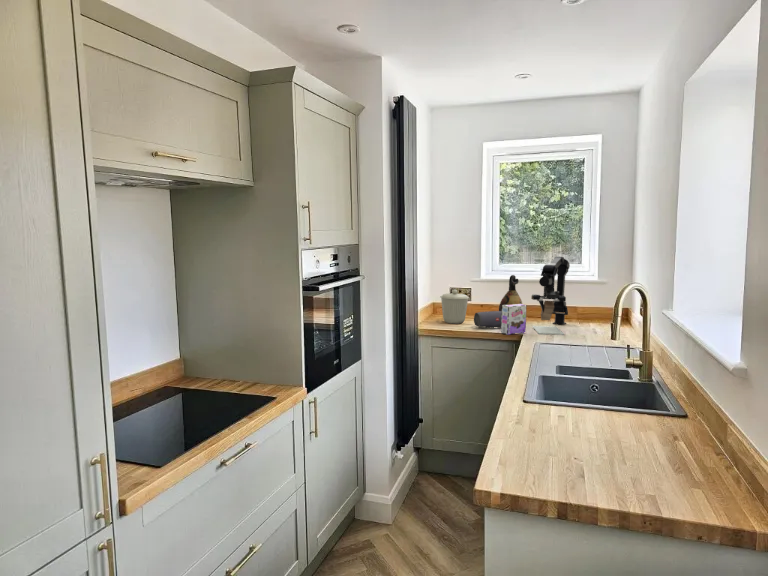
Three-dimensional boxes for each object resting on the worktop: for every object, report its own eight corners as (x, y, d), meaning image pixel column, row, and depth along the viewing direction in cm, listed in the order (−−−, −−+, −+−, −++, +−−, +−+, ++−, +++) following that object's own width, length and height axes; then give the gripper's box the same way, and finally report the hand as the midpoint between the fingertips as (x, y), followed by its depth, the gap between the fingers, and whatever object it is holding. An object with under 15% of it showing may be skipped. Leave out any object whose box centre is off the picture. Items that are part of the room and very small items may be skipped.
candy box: (507, 335, 297) (508, 306, 295) (500, 333, 302) (501, 304, 301) (525, 333, 304) (527, 304, 302) (518, 331, 309) (520, 303, 307)
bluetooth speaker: (479, 329, 312) (480, 313, 311) (473, 326, 321) (473, 310, 320) (514, 328, 319) (514, 311, 318) (506, 325, 328) (506, 309, 326)
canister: (472, 321, 338) (473, 289, 336) (461, 326, 323) (462, 292, 321) (447, 319, 348) (448, 287, 346) (434, 322, 333) (435, 289, 331)
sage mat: (532, 327, 322) (532, 325, 322) (555, 327, 321) (555, 326, 321) (538, 334, 300) (538, 332, 300) (564, 334, 299) (564, 333, 299)
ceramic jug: (525, 323, 335) (527, 276, 331) (501, 323, 335) (502, 276, 331) (519, 318, 352) (520, 274, 348) (495, 318, 352) (497, 273, 348)
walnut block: (540, 314, 319) (544, 300, 309) (549, 314, 318) (553, 300, 308) (541, 320, 316) (545, 306, 306) (549, 320, 315) (554, 306, 305)
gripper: (535, 286, 303) (534, 313, 304) (568, 287, 301) (567, 314, 302) (532, 284, 314) (530, 310, 315) (564, 286, 312) (562, 312, 313)
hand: (547, 312), depth 311 cm, fingers closed on walnut block, 5 cm apart
